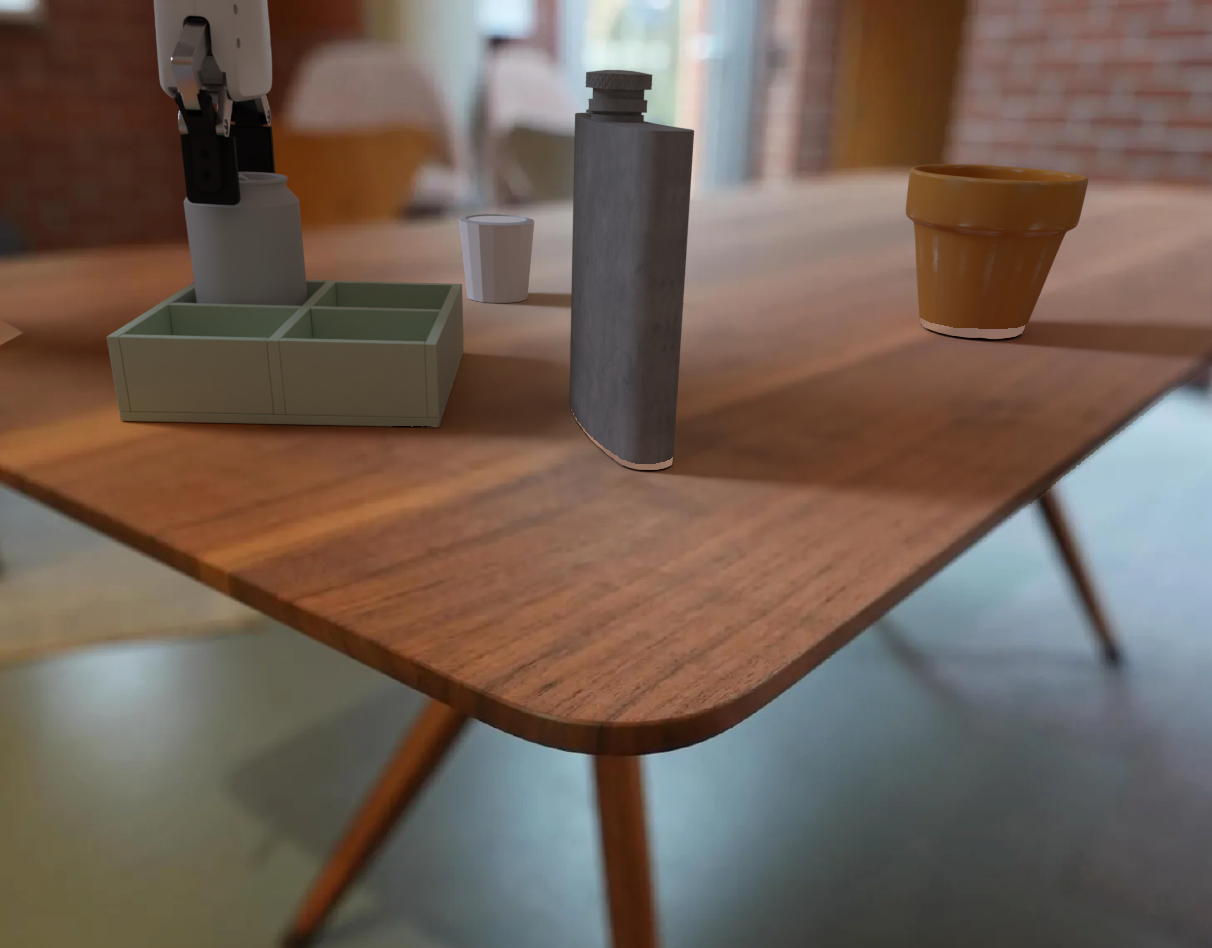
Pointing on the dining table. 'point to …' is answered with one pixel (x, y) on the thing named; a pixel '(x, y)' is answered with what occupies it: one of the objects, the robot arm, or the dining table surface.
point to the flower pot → (987, 239)
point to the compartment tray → (295, 357)
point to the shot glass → (496, 256)
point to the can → (249, 245)
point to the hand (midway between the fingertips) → (234, 194)
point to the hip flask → (628, 268)
